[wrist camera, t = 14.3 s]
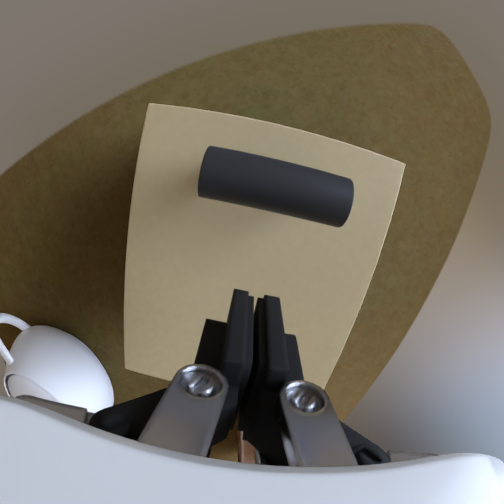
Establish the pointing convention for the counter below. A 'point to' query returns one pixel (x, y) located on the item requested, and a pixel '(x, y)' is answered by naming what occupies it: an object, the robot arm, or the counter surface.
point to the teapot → (54, 367)
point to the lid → (249, 233)
